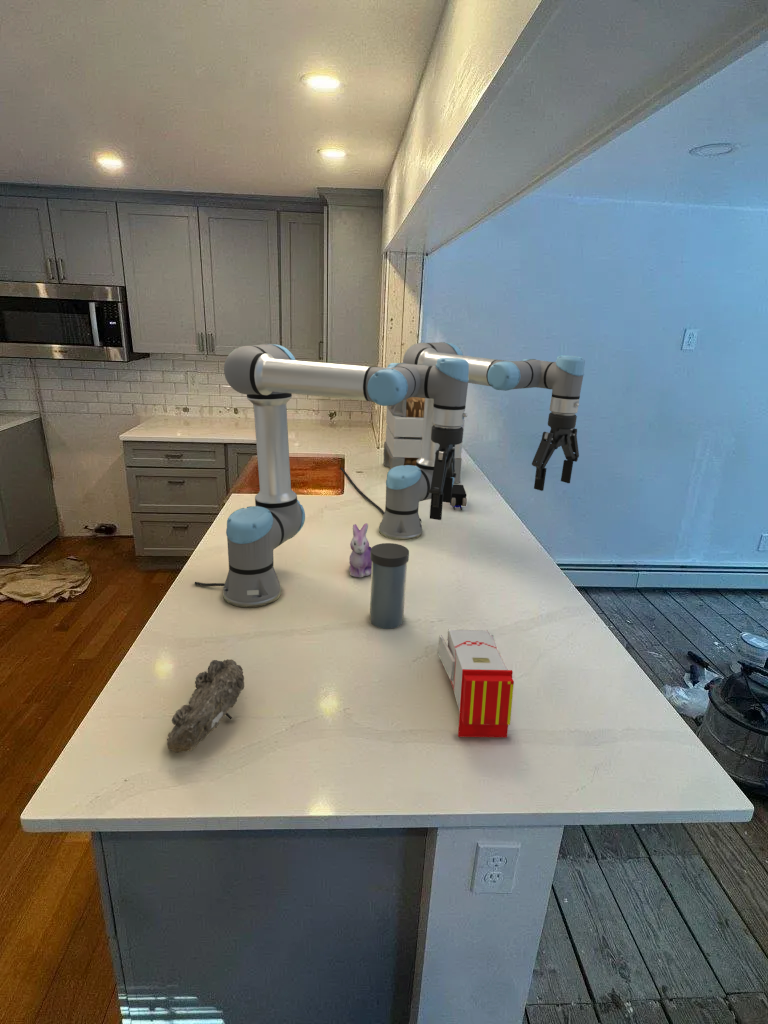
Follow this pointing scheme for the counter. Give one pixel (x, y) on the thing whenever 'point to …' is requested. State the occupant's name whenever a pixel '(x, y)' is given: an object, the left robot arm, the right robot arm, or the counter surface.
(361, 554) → the figurine
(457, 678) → the toy
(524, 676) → the counter surface
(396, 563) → the lid
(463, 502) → the figurine character
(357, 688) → the counter surface
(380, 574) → the jar
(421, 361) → the right robot arm
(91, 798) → the counter surface
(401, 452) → the white slatted crate
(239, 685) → the fossil
